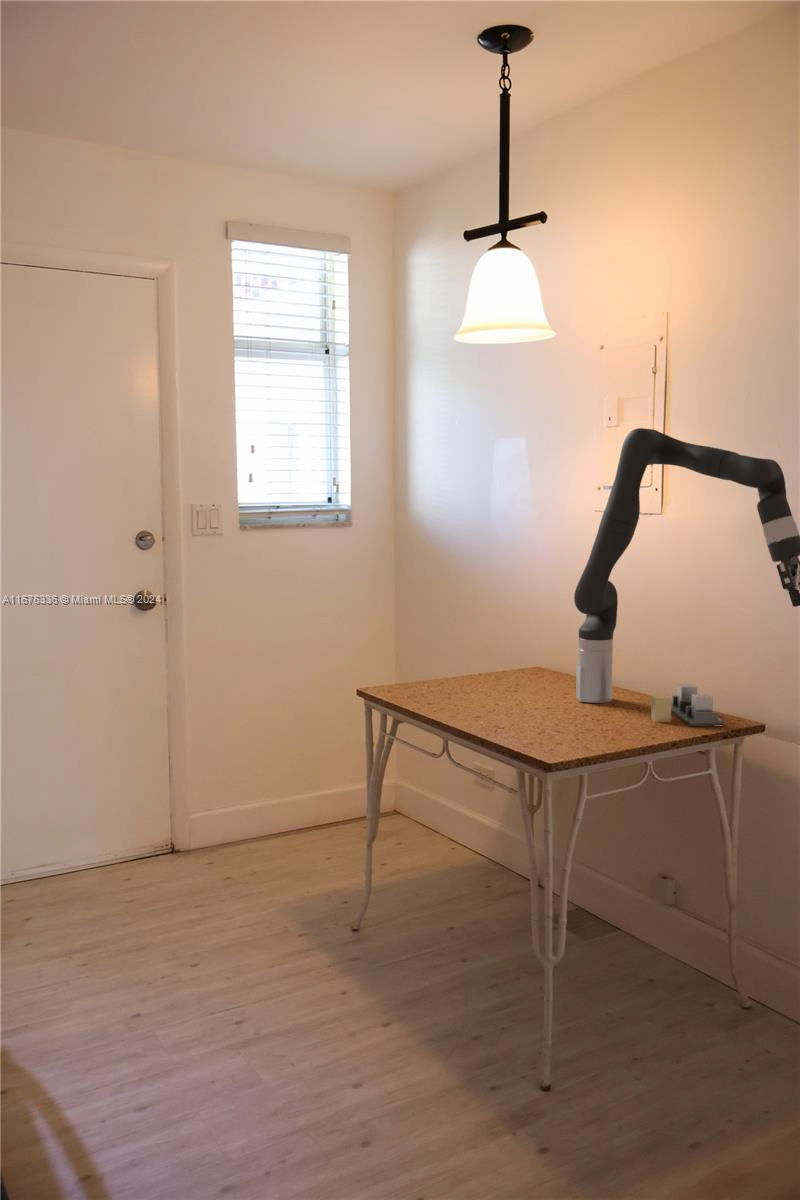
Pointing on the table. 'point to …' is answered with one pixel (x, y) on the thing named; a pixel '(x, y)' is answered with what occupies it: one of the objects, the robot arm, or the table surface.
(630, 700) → the table surface
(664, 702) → the tan rectangular block
